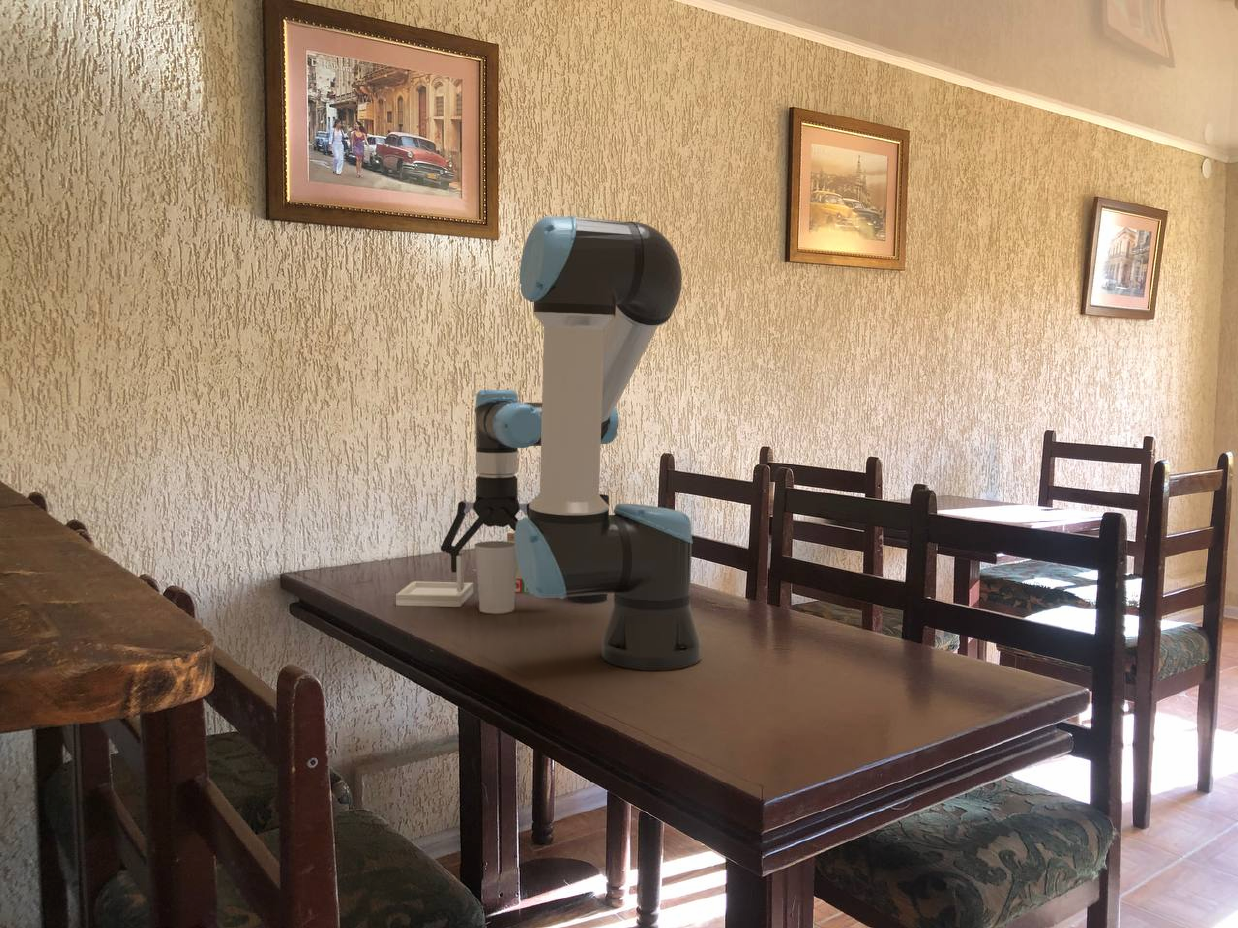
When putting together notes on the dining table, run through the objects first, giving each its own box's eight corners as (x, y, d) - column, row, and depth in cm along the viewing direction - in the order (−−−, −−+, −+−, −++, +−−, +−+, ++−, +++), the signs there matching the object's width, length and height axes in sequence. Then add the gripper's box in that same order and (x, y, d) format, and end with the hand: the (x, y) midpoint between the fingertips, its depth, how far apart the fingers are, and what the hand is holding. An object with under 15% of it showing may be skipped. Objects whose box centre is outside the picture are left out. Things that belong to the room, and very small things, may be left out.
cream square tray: (460, 606, 182) (460, 596, 182) (395, 605, 182) (395, 594, 182) (473, 592, 194) (473, 582, 193) (413, 591, 194) (413, 581, 194)
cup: (510, 615, 176) (510, 549, 175) (468, 613, 177) (468, 547, 176) (523, 605, 183) (524, 541, 182) (483, 603, 185) (483, 540, 184)
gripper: (567, 474, 181) (566, 588, 183) (434, 471, 183) (434, 584, 185) (562, 478, 174) (561, 597, 176) (423, 475, 175) (424, 593, 177)
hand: (496, 591), depth 180 cm, fingers open, 13 cm apart
